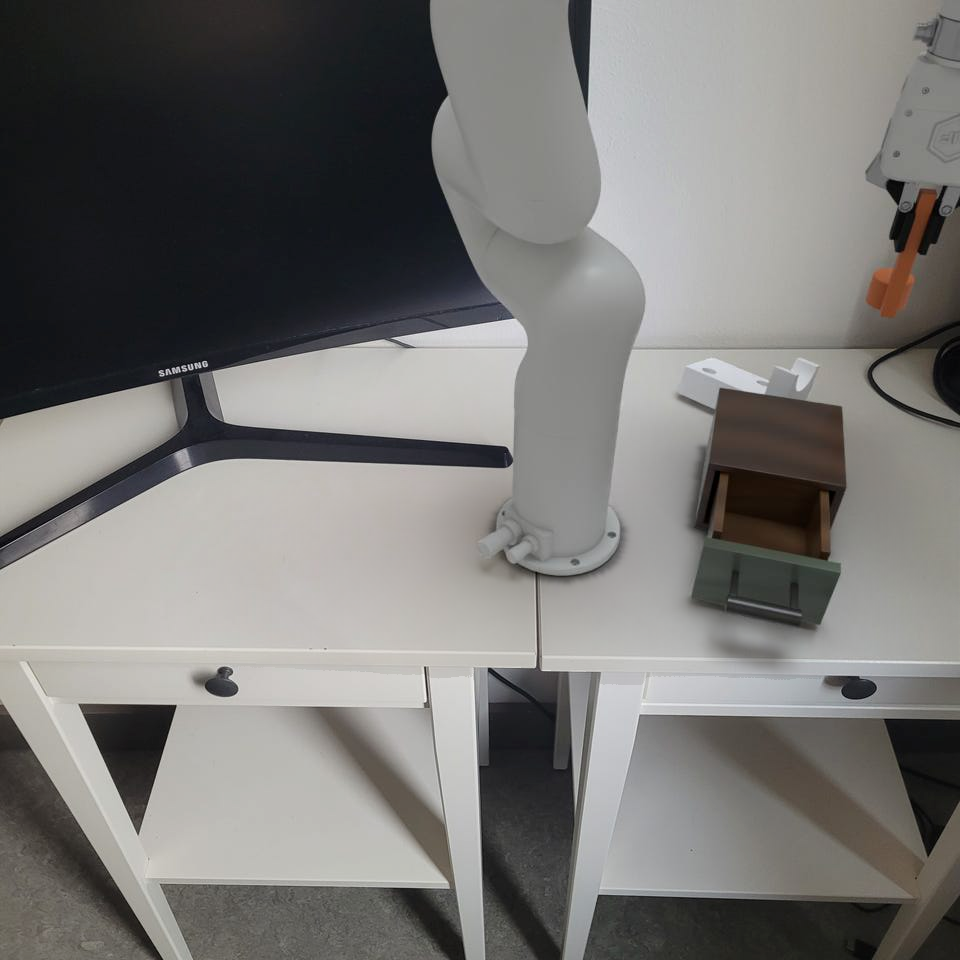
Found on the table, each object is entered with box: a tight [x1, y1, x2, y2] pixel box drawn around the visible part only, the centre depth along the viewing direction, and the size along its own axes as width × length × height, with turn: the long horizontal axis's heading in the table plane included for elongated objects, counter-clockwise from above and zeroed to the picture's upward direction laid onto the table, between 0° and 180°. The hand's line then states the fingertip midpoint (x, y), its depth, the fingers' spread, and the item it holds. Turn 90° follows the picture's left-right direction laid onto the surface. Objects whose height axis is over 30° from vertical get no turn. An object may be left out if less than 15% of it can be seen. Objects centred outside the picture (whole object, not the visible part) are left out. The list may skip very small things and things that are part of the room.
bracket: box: [677, 357, 821, 410], centre depth 99 cm, size 13×7×8 cm, turn 46°
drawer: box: [690, 471, 842, 629], centre depth 75 cm, size 17×11×7 cm, turn 163°
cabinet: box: [694, 388, 848, 532], centre depth 85 cm, size 14×13×9 cm
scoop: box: [865, 187, 938, 319], centre depth 82 cm, size 5×4×13 cm
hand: (909, 247), depth 80 cm, fingers closed on scoop, 1 cm apart
